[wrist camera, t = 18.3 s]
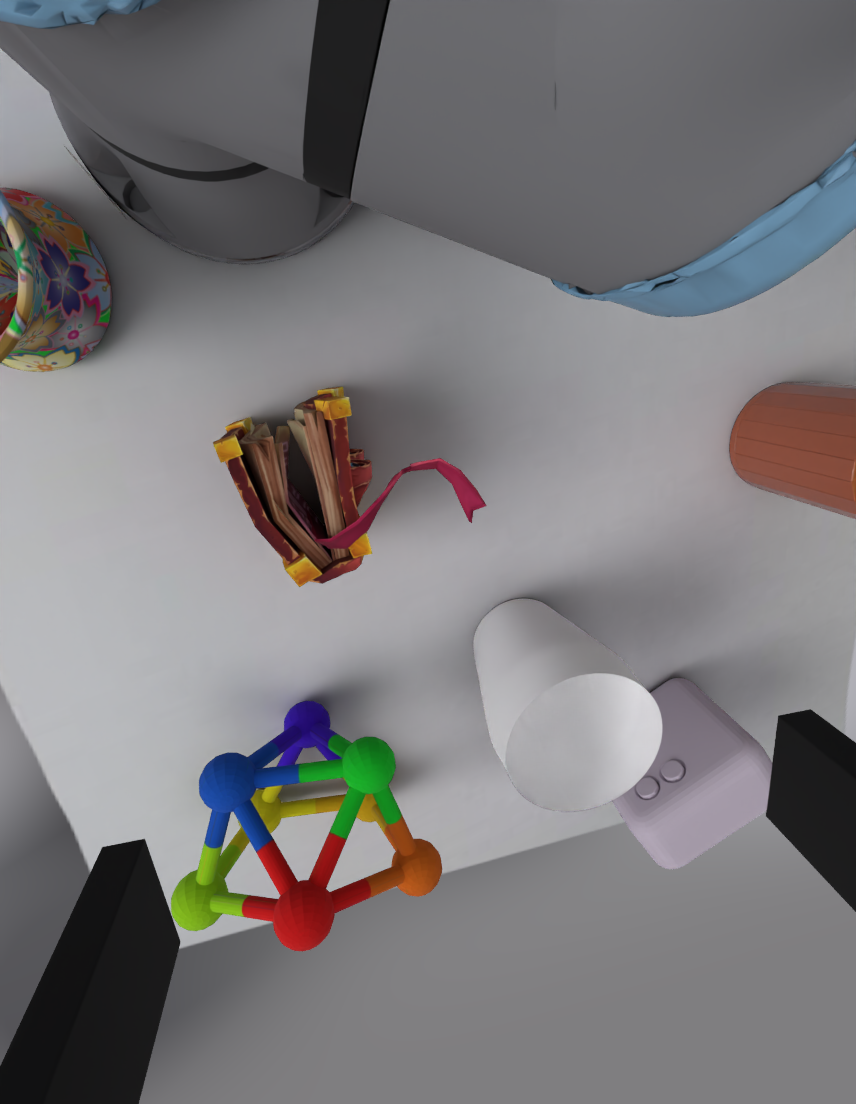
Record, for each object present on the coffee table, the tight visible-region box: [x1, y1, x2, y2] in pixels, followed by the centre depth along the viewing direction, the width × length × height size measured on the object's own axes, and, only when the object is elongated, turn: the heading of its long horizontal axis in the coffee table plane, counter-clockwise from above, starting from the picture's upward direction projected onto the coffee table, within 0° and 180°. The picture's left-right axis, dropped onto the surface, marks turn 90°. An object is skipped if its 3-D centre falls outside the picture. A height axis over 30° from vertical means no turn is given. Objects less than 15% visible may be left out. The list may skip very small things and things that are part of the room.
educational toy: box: [171, 701, 442, 951], centre depth 35 cm, size 16×13×15 cm
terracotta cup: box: [730, 382, 856, 519], centre depth 35 cm, size 7×7×10 cm
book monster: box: [213, 387, 486, 587], centre depth 31 cm, size 11×9×12 cm
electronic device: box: [612, 678, 772, 869], centre depth 41 cm, size 10×5×10 cm, turn 126°
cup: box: [473, 599, 662, 812], centre depth 36 cm, size 9×9×12 cm
